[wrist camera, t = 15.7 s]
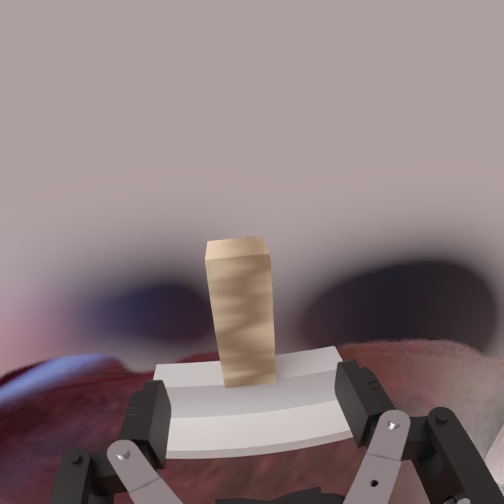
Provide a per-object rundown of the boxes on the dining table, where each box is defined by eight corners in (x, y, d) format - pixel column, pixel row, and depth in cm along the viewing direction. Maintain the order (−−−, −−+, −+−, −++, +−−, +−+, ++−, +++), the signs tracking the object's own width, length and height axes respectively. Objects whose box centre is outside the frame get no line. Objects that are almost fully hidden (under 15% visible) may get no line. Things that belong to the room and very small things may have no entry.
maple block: (225, 387, 25) (204, 259, 21) (224, 357, 29) (207, 241, 25) (276, 382, 25) (270, 253, 21) (269, 352, 29) (262, 235, 25)
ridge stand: (143, 457, 22) (121, 419, 21) (158, 380, 34) (146, 341, 32) (370, 432, 24) (382, 391, 22) (335, 361, 35) (339, 321, 33)
